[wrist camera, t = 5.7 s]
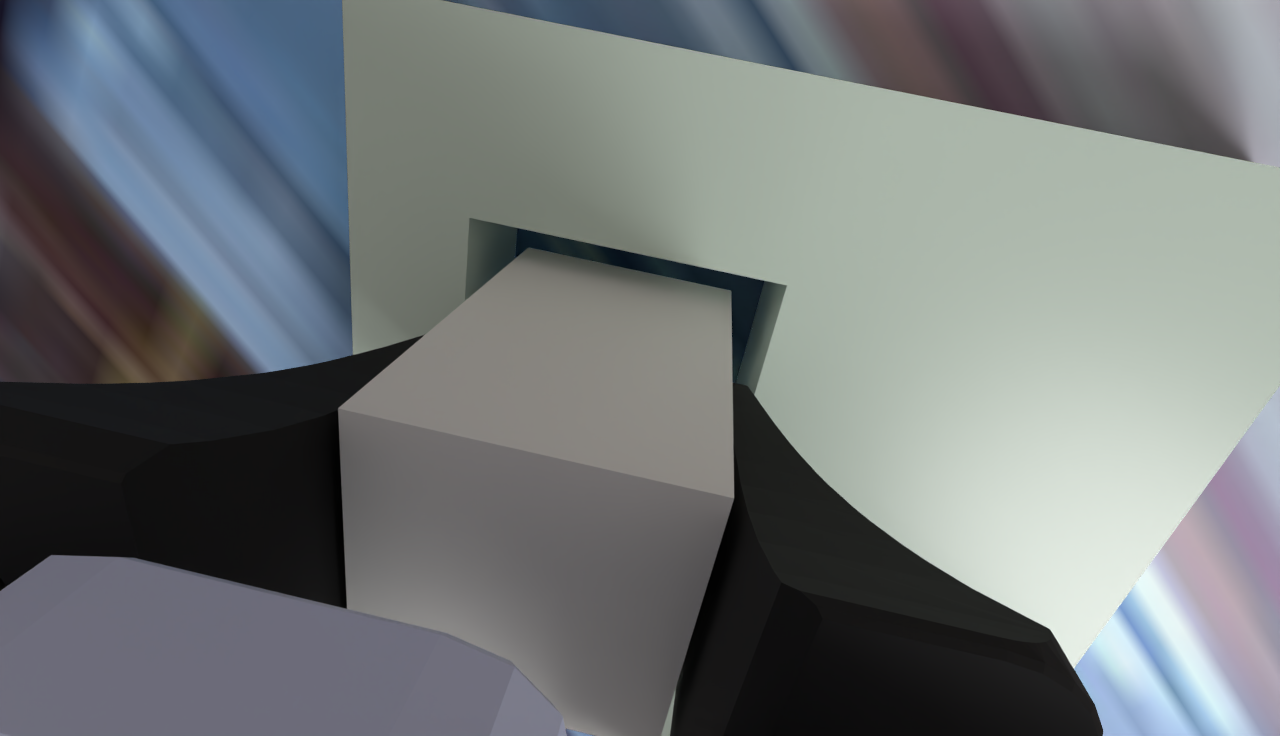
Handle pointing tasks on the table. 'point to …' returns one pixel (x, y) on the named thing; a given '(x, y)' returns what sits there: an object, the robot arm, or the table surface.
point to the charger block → (551, 480)
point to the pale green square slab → (854, 274)
